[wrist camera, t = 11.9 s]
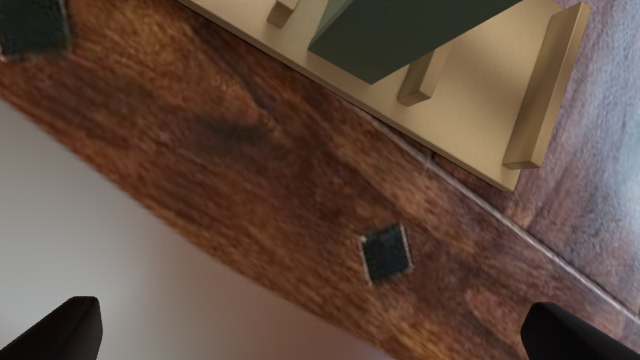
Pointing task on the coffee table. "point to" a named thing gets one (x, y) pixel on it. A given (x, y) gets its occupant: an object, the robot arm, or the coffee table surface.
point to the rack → (442, 78)
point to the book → (394, 31)
